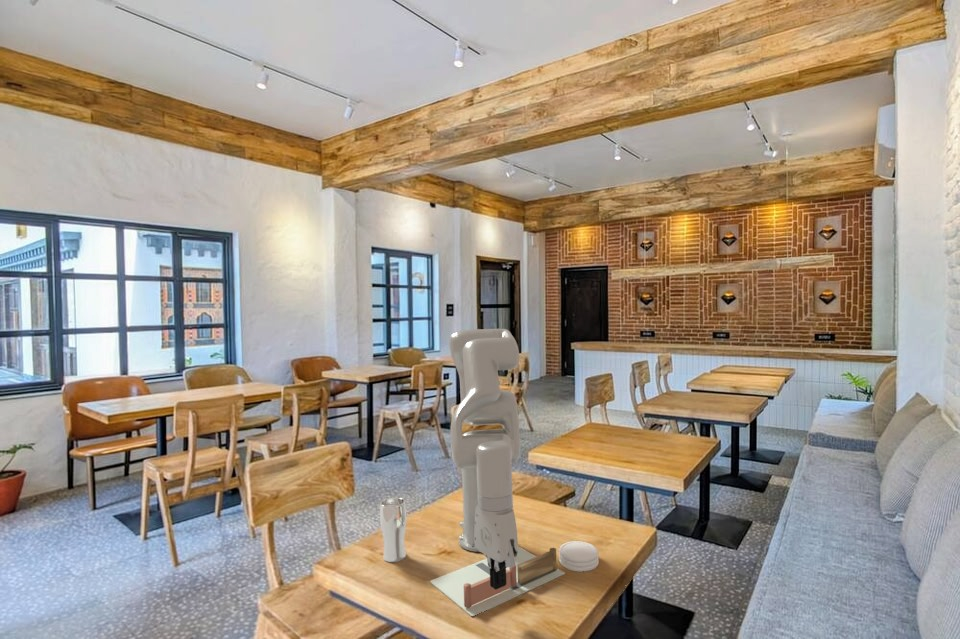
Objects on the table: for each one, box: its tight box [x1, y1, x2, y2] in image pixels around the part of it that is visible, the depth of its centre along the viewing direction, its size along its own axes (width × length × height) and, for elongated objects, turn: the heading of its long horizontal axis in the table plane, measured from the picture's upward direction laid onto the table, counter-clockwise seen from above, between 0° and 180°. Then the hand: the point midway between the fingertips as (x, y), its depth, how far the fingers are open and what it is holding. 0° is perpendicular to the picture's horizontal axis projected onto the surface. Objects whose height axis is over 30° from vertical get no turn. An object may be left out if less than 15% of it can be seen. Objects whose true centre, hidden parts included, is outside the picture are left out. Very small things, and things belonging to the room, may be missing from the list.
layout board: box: [429, 545, 566, 617], centre depth 128 cm, size 18×28×1 cm, turn 126°
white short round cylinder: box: [558, 540, 600, 573], centre depth 134 cm, size 10×10×4 cm
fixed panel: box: [517, 547, 558, 584], centre depth 127 cm, size 2×12×5 cm, turn 126°
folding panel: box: [464, 565, 517, 608], centre depth 119 cm, size 15×2×5 cm, turn 126°
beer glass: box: [379, 497, 407, 563], centre depth 140 cm, size 7×7×15 cm
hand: (498, 585), depth 111 cm, fingers closed
